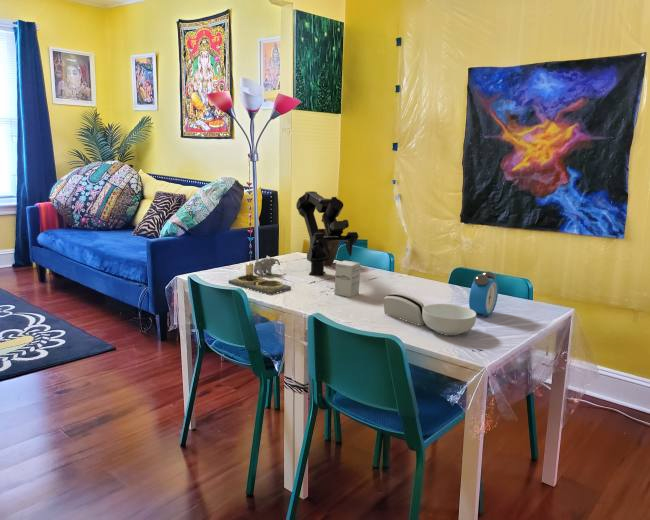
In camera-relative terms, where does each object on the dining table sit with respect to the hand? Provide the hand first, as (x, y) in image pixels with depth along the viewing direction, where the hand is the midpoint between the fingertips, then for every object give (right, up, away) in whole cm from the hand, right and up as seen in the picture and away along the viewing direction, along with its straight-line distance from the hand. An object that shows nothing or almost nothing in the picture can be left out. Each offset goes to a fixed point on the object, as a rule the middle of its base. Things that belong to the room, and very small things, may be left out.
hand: (339, 256), depth 222 cm
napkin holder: (+21, -22, -33) cm, 45 cm away
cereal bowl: (+33, -25, -44) cm, 60 cm away
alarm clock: (+50, -21, -25) cm, 59 cm away
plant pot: (-6, -4, +47) cm, 48 cm away
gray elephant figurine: (-32, -8, +25) cm, 41 cm away
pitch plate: (-33, -12, +3) cm, 35 cm away
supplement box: (+3, -15, -4) cm, 16 cm away
